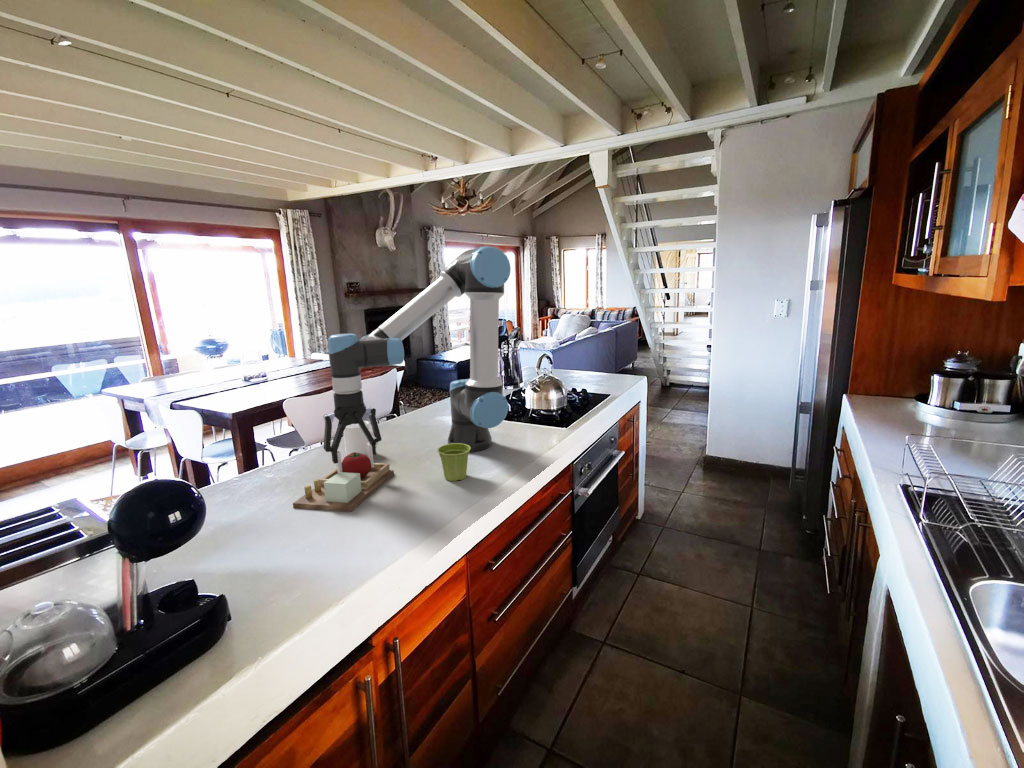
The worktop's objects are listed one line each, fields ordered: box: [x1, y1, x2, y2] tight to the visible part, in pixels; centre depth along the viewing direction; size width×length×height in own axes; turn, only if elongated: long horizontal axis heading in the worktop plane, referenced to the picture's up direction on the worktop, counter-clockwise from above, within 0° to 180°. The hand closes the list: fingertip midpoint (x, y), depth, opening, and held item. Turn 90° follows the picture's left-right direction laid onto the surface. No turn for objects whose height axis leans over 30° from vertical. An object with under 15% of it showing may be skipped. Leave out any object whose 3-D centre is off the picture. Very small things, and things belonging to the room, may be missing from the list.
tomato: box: [341, 452, 371, 478], centre depth 132 cm, size 8×8×7 cm
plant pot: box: [437, 443, 471, 482], centre depth 133 cm, size 9×9×9 cm
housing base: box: [292, 462, 395, 513], centre depth 128 cm, size 16×24×4 cm, turn 169°
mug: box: [343, 420, 379, 456], centre depth 155 cm, size 12×8×10 cm
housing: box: [324, 472, 362, 503], centre depth 121 cm, size 6×7×5 cm
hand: (355, 469), depth 132 cm, fingers closed on tomato, 8 cm apart
